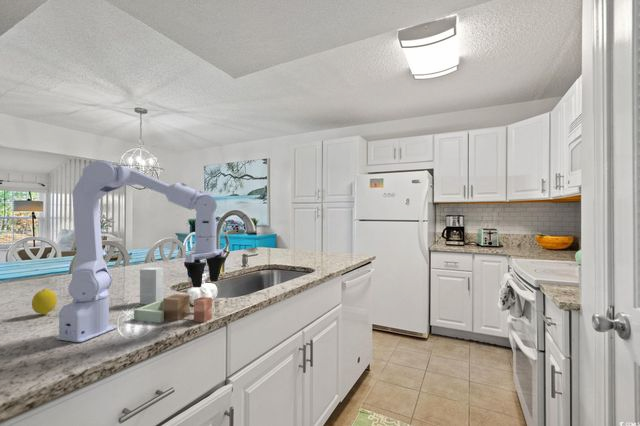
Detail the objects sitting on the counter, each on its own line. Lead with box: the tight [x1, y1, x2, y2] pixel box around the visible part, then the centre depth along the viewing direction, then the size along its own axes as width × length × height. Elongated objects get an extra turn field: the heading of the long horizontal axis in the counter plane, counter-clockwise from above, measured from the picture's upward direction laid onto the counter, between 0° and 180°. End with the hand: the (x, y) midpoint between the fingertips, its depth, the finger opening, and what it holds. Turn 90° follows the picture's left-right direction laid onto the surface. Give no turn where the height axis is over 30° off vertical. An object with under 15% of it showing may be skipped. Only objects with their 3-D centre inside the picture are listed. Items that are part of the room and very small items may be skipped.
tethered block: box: [163, 294, 213, 323], centre depth 84 cm, size 5×13×6 cm, turn 75°
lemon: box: [31, 288, 58, 316], centre depth 88 cm, size 6×6×8 cm
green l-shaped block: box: [133, 300, 165, 324], centre depth 87 cm, size 10×9×3 cm
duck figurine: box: [185, 273, 218, 306], centre depth 101 cm, size 12×8×11 cm
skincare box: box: [139, 267, 165, 305], centre depth 100 cm, size 6×4×12 cm
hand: (205, 283), depth 83 cm, fingers open, 7 cm apart
